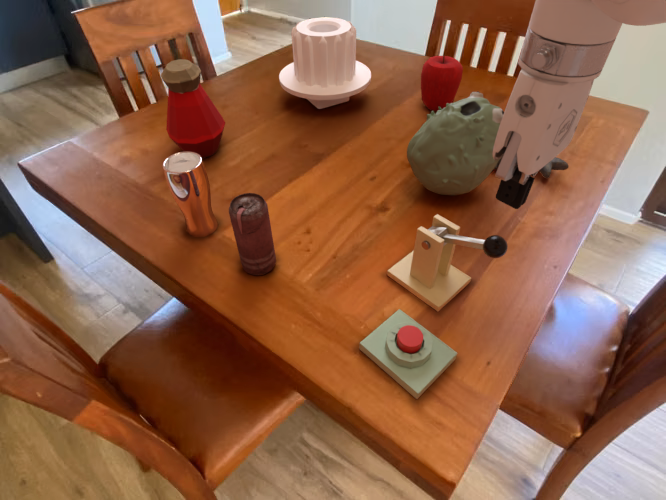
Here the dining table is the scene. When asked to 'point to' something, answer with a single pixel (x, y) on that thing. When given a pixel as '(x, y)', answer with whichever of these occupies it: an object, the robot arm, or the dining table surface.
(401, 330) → the console button
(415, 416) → the dining table surface
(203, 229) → the beer glass
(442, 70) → the apple
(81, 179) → the dining table surface
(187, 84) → the bottle
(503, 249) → the switch lever
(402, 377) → the grey button base
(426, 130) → the green rock
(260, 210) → the can
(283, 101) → the dining table surface
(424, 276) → the switch bracket
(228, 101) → the dining table surface
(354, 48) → the ribbed cylinder on disc
